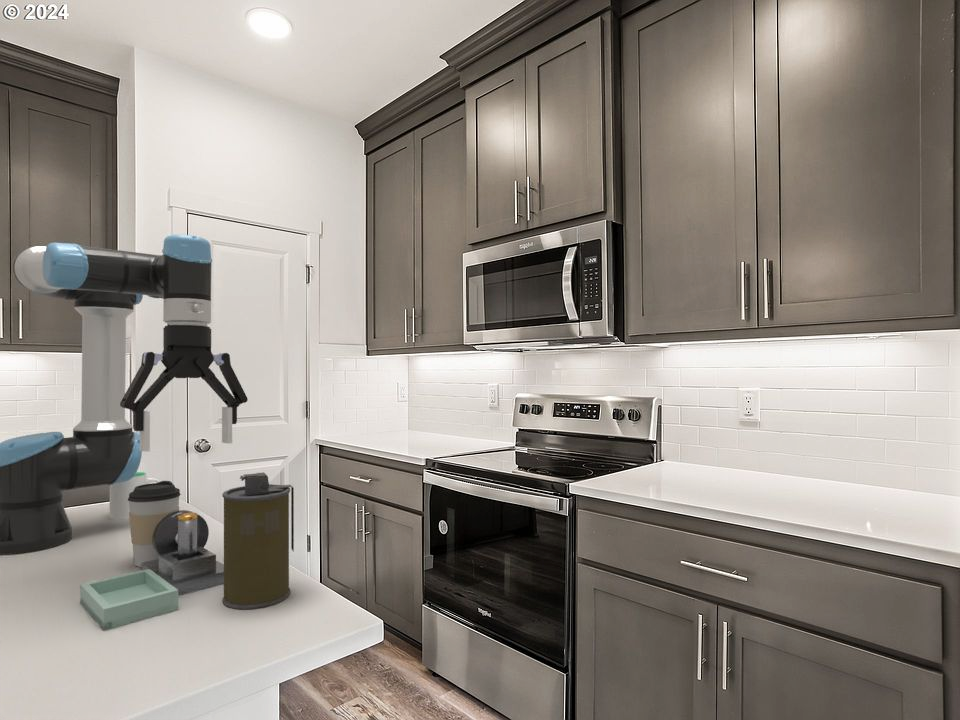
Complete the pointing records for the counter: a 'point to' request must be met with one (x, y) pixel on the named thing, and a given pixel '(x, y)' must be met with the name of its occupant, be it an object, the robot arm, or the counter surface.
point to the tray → (128, 598)
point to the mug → (125, 495)
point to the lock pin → (187, 535)
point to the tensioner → (186, 571)
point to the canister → (257, 543)
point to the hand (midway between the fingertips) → (187, 446)
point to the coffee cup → (149, 516)
